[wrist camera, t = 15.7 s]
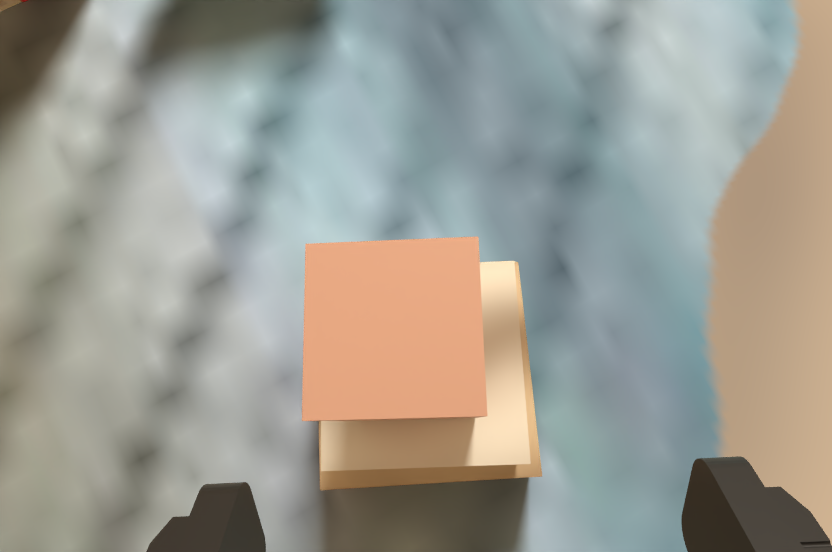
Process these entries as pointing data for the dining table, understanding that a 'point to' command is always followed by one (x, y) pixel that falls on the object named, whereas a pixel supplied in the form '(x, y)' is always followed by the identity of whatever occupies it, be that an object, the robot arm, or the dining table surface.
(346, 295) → the terracotta block
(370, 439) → the birch top slab
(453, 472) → the oak base slab
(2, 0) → the stack of blocks
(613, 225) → the dining table surface
